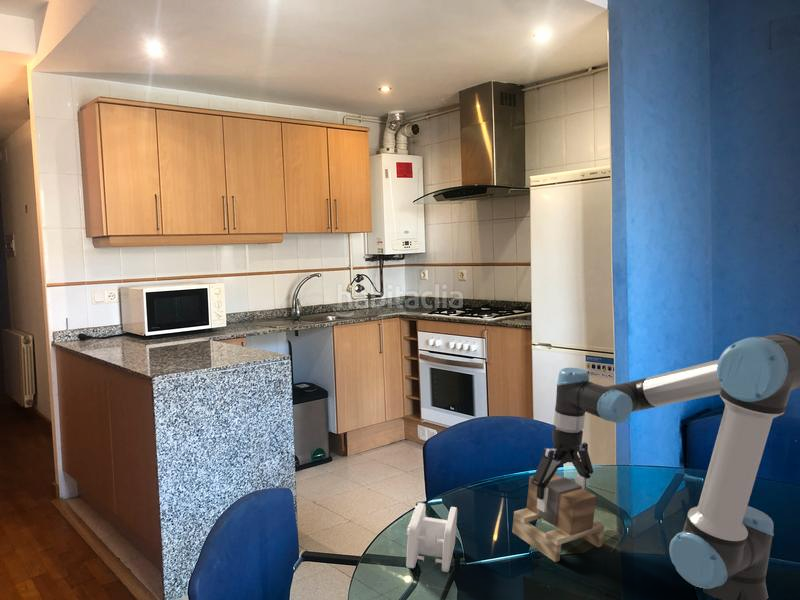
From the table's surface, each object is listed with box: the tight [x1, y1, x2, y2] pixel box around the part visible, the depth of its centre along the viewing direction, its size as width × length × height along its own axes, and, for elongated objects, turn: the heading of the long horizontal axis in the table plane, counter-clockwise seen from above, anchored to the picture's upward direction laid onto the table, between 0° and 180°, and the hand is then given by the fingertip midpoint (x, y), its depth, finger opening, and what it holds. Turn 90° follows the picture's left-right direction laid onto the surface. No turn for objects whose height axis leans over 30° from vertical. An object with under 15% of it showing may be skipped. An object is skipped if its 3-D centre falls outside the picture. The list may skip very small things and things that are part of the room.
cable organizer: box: [405, 502, 458, 573], centre depth 157 cm, size 15×11×12 cm
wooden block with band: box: [526, 473, 597, 536], centre depth 169 cm, size 16×8×9 cm, turn 32°
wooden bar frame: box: [511, 507, 605, 563], centre depth 171 cm, size 16×17×6 cm
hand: (560, 504), depth 170 cm, fingers open, 13 cm apart
